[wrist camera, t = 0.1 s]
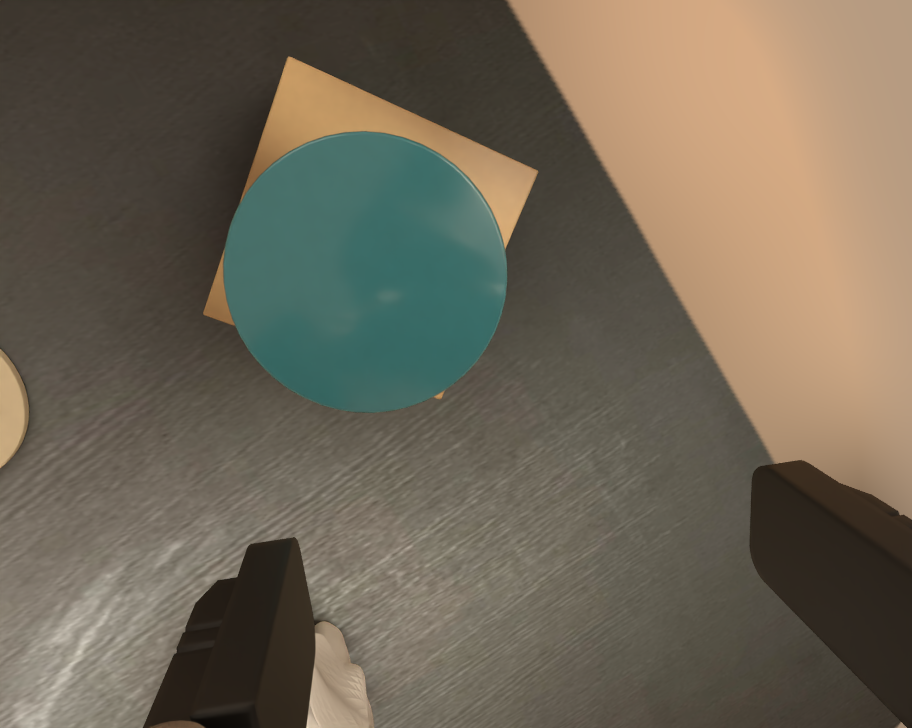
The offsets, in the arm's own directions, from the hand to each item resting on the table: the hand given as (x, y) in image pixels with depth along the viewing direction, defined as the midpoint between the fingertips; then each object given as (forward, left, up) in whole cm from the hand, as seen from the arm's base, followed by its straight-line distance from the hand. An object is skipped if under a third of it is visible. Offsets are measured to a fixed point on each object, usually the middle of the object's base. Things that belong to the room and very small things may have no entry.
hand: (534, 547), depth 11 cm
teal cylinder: (-3, -4, -13) cm, 14 cm away
